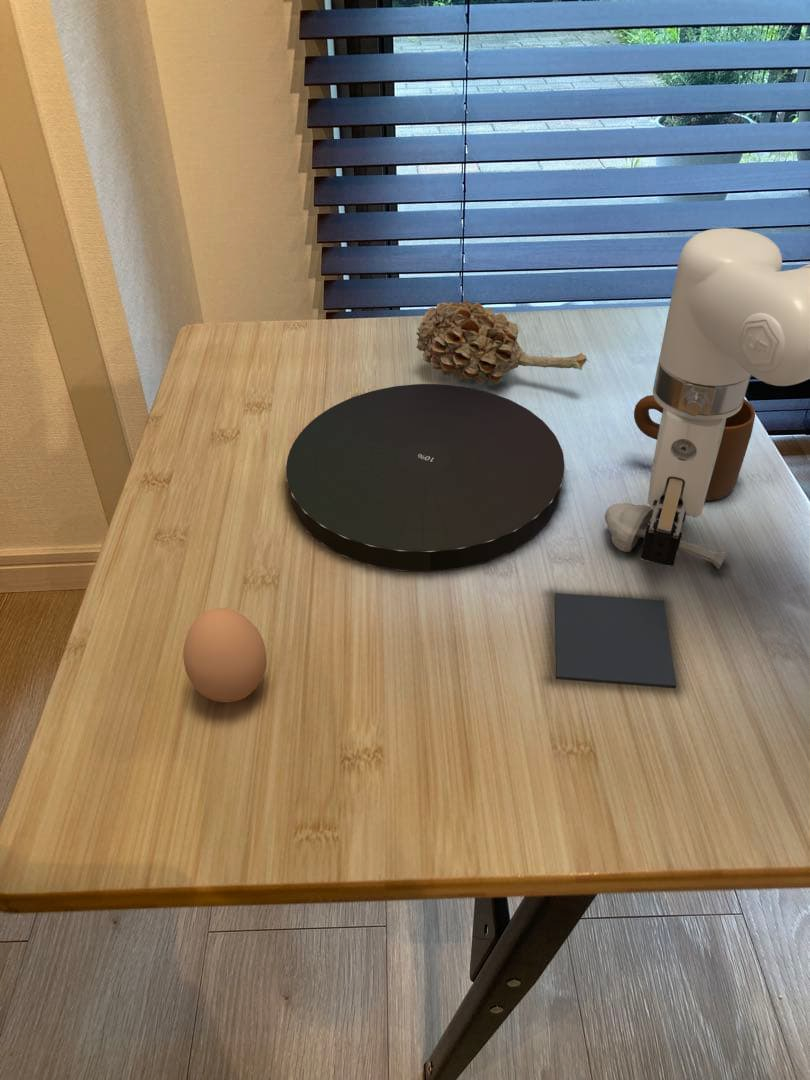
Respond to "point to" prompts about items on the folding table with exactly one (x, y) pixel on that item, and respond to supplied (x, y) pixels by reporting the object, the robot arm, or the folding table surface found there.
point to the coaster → (613, 640)
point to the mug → (729, 450)
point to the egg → (224, 655)
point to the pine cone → (477, 344)
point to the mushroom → (631, 525)
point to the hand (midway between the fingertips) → (662, 538)
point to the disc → (425, 477)
